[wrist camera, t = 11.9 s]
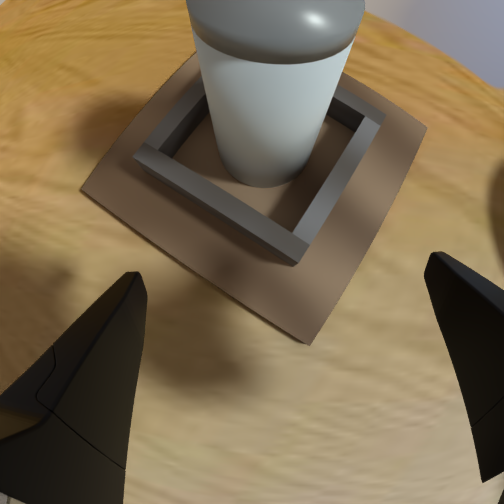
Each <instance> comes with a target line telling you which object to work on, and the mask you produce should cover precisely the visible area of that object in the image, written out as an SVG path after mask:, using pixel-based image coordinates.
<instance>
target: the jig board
mask: <svg viewBox="0 0 504 504" xmlns="http://www.w3.org/2000/svg"><path fill="white" fill-rule="evenodd" d="M427 128H428V127H426V126H425V125H424V124H422V123H421V122H420V121H418V120H417V119H415V118H414V117H413V116H411V115H410V114H408V113H407V112H406V111H404V110H403V109H401V108H400V107H398V106H397V105H395V104H394V103H392V102H391V101H389V100H388V99H386V98H385V97H383V96H382V95H380V94H379V93H377V92H375V91H374V90H372V89H371V88H369V87H367V86H366V85H364V84H362V83H361V82H359V81H357V80H356V79H354V78H352V77H350V76H349V75H347V74H345V73H343V72H342V73H341V76H340V79H339V81H338V84H337V87H336V89H335V92H334V94H333V97H332V100H331V102H330V105H329V108H328V110H327V113H326V115H325V118H324V121H323V123H322V126H321V128H320V131H319V134H318V136H317V139H316V141H315V144H314V146H313V149H312V152H311V154H310V157H309V159H308V162H307V164H306V166H305V168H304V169H303V171H302V172H301V173H300V174H299V175H298V176H297V177H296V178H295V179H293V180H292V181H290V182H288V183H286V184H284V185H281V186H278V187H272V188H258V187H253V186H249V185H246V184H244V183H242V182H240V181H238V180H237V179H235V178H234V177H233V176H232V175H231V174H230V173H229V172H228V171H227V170H226V169H225V167H224V166H223V164H222V161H221V159H220V155H219V151H218V147H217V142H216V138H215V133H214V129H213V124H212V119H211V115H210V110H209V106H208V101H207V97H206V92H205V88H204V83H203V78H202V74H201V69H200V64H199V60H198V55H197V52H196V53H195V54H194V55H193V56H192V57H191V58H190V59H189V60H188V61H187V62H186V63H185V64H184V65H183V66H182V67H181V68H180V69H179V70H178V71H177V72H176V73H175V74H174V75H173V76H172V77H171V78H170V79H169V80H168V81H167V82H166V83H165V84H164V85H163V86H162V87H161V88H160V90H159V91H158V92H157V93H156V94H155V95H154V96H153V97H152V98H151V100H150V101H149V102H148V103H147V104H146V105H145V106H144V107H143V109H142V110H141V111H140V112H139V113H138V114H137V116H136V117H135V118H134V119H133V120H132V122H131V123H130V124H129V125H128V126H127V128H126V129H125V130H124V131H123V133H122V134H121V135H120V136H119V138H118V139H117V140H116V141H115V143H114V144H113V145H112V147H111V148H110V149H109V151H108V152H107V153H106V155H105V156H104V157H103V159H102V160H101V161H100V163H99V164H98V165H97V167H96V168H95V170H94V171H93V172H92V174H91V175H90V177H89V178H88V180H87V181H86V182H85V184H84V185H83V187H82V188H81V189H82V190H83V191H84V192H86V193H87V194H88V195H90V196H91V197H92V198H93V199H95V200H96V201H97V202H99V203H100V204H101V205H103V206H104V207H105V208H107V209H108V210H109V211H111V212H112V213H114V214H115V215H116V216H118V217H119V218H120V219H122V220H123V221H124V222H126V223H127V224H129V225H130V226H131V227H133V228H134V229H135V230H137V231H138V232H140V233H141V234H142V235H144V236H145V237H146V238H148V239H149V240H151V241H152V242H153V243H155V244H156V245H158V246H159V247H161V248H162V249H163V250H165V251H166V252H168V253H169V254H170V255H172V256H173V257H175V258H176V259H178V260H179V261H181V262H182V263H183V264H185V265H186V266H188V267H189V268H191V269H192V270H194V271H195V272H196V273H198V274H199V275H201V276H202V277H204V278H205V279H207V280H208V281H210V282H211V283H213V284H214V285H216V286H217V287H219V288H220V289H222V290H223V291H225V292H226V293H228V294H229V295H231V296H232V297H234V298H235V299H237V300H238V301H240V302H241V303H243V304H244V305H246V306H247V307H249V308H250V309H252V310H253V311H255V312H256V313H258V314H260V315H261V316H263V317H264V318H266V319H267V320H269V321H270V322H272V323H273V324H275V325H277V326H278V327H280V328H281V329H283V330H284V331H286V332H288V333H289V334H291V335H292V336H294V337H296V338H297V339H299V340H300V341H302V342H304V343H305V344H307V345H308V346H310V345H311V343H312V342H313V340H314V339H315V337H316V335H317V334H318V332H319V331H320V329H321V328H322V326H323V325H324V323H325V321H326V320H327V318H328V317H329V315H330V313H331V312H332V310H333V309H334V307H335V305H336V304H337V302H338V300H339V299H340V297H341V296H342V294H343V292H344V291H345V289H346V287H347V285H348V284H349V282H350V280H351V279H352V277H353V275H354V274H355V272H356V270H357V268H358V267H359V265H360V263H361V261H362V260H363V258H364V256H365V254H366V252H367V251H368V249H369V247H370V245H371V243H372V241H373V240H374V238H375V236H376V234H377V232H378V230H379V228H380V227H381V225H382V223H383V221H384V219H385V217H386V215H387V213H388V211H389V209H390V207H391V205H392V203H393V201H394V199H395V197H396V195H397V193H398V191H399V189H400V187H401V185H402V183H403V181H404V179H405V177H406V175H407V173H408V171H409V168H410V166H411V164H412V162H413V160H414V158H415V155H416V153H417V151H418V149H419V146H420V144H421V142H422V140H423V137H424V135H425V133H426V130H427Z"/></svg>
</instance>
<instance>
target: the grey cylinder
mask: <svg viewBox="0 0 504 504" xmlns="http://www.w3.org/2000/svg"><path fill="white" fill-rule="evenodd" d="M186 3H187V8H188V13H189V17H190V22H191V27H192V32H193V36H194V41H195V46H196V50H197V55H198V60H199V64H200V69H201V74H202V78H203V83H204V88H205V92H206V97H207V101H208V106H209V110H210V115H211V119H212V124H213V129H214V133H215V138H216V142H217V147H218V151H219V155H220V159H221V161H222V164H223V166H224V167H225V169H226V170H227V171H228V172H229V173H230V174H231V175H232V176H233V177H234V178H235V179H237V180H238V181H240V182H242V183H244V184H246V185H249V186H253V187H258V188H272V187H278V186H281V185H284V184H286V183H288V182H290V181H292V180H293V179H295V178H296V177H297V176H298V175H299V174H300V173H301V172H302V171H303V169H304V168H305V166H306V164H307V162H308V159H309V157H310V154H311V152H312V149H313V146H314V144H315V141H316V139H317V136H318V134H319V131H320V128H321V126H322V123H323V121H324V118H325V115H326V113H327V110H328V108H329V105H330V102H331V100H332V97H333V94H334V92H335V89H336V87H337V84H338V81H339V79H340V76H341V73H342V71H343V68H344V65H345V63H346V60H347V57H348V55H349V52H350V49H351V46H352V44H353V41H354V38H355V36H356V33H357V30H358V27H359V25H360V22H361V19H362V17H363V14H364V10H365V1H364V0H186Z"/></svg>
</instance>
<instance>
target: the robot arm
mask: <svg viewBox="0 0 504 504" xmlns="http://www.w3.org/2000/svg"><path fill="white" fill-rule="evenodd" d="M424 279H425V283H426V286H427V289H428V292H429V295H430V299H431V302H432V306H433V309H434V313H435V316H436V319H437V322H438V324H439V327H440V330H441V332H442V335H443V338H444V341H445V343H446V346H447V349H448V352H449V355H450V358H451V361H452V364H453V367H454V370H455V373H456V376H457V379H458V382H459V386H460V389H461V393H462V396H463V399H464V403H465V407H466V410H467V414H468V418H469V422H470V426H471V427H472V428H471V431H472V435H473V439H474V444H475V449H476V454H477V459H478V464H479V469H480V475H481V480H482V483H484V482H486V481H488V480H490V479H491V478H493V477H495V476H497V475H499V474H500V473H502V472H504V290H503V289H501V288H500V287H498V286H497V285H495V284H494V283H492V282H491V281H489V280H488V279H486V278H485V277H483V276H481V275H480V274H478V273H477V272H475V271H474V270H472V269H471V268H469V267H467V266H466V265H464V264H463V263H461V262H459V261H458V260H456V259H454V258H453V257H451V256H450V255H448V254H446V253H445V252H442V251H440V252H433V253H431V254H430V257H429V260H428V263H427V265H426V268H425V271H424ZM146 309H147V291H146V288H145V285H144V283H143V280H142V277H141V274H140V273H139V272H137V271H136V272H126V273H125V274H123V275H122V276H121V277H120V278H119V279H118V280H117V281H116V282H115V283H114V284H113V285H112V286H111V287H110V288H109V289H108V290H106V291H105V292H104V293H103V294H102V295H101V296H100V297H99V298H98V299H97V300H96V301H95V302H94V303H93V304H92V305H91V306H90V307H89V308H88V309H87V310H86V311H85V312H84V313H83V314H82V315H81V316H80V317H79V318H78V319H77V320H76V321H75V322H74V323H73V324H72V325H71V326H70V327H69V328H68V329H67V330H66V331H65V332H64V333H63V334H62V335H61V336H60V337H59V338H58V339H57V340H56V341H55V342H54V343H53V345H51V346H50V347H49V348H48V349H47V351H46V352H45V353H44V354H43V355H42V356H41V357H40V358H39V359H38V360H37V361H36V362H35V363H34V364H33V365H32V366H31V367H30V368H29V369H28V370H27V371H25V372H24V373H23V374H22V375H21V376H20V377H19V378H18V379H17V380H16V381H15V382H14V383H13V384H12V385H10V386H9V387H8V388H7V389H6V390H5V391H4V392H3V393H2V394H1V395H0V504H123V497H124V484H125V472H126V471H125V469H126V461H127V451H128V443H129V434H130V426H131V419H132V412H133V405H134V398H135V392H136V385H137V379H138V373H139V367H140V362H141V356H142V351H143V344H144V334H145V321H146ZM498 504H504V490H503V492H502V495H501V497H500V500H499V502H498Z"/></svg>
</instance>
